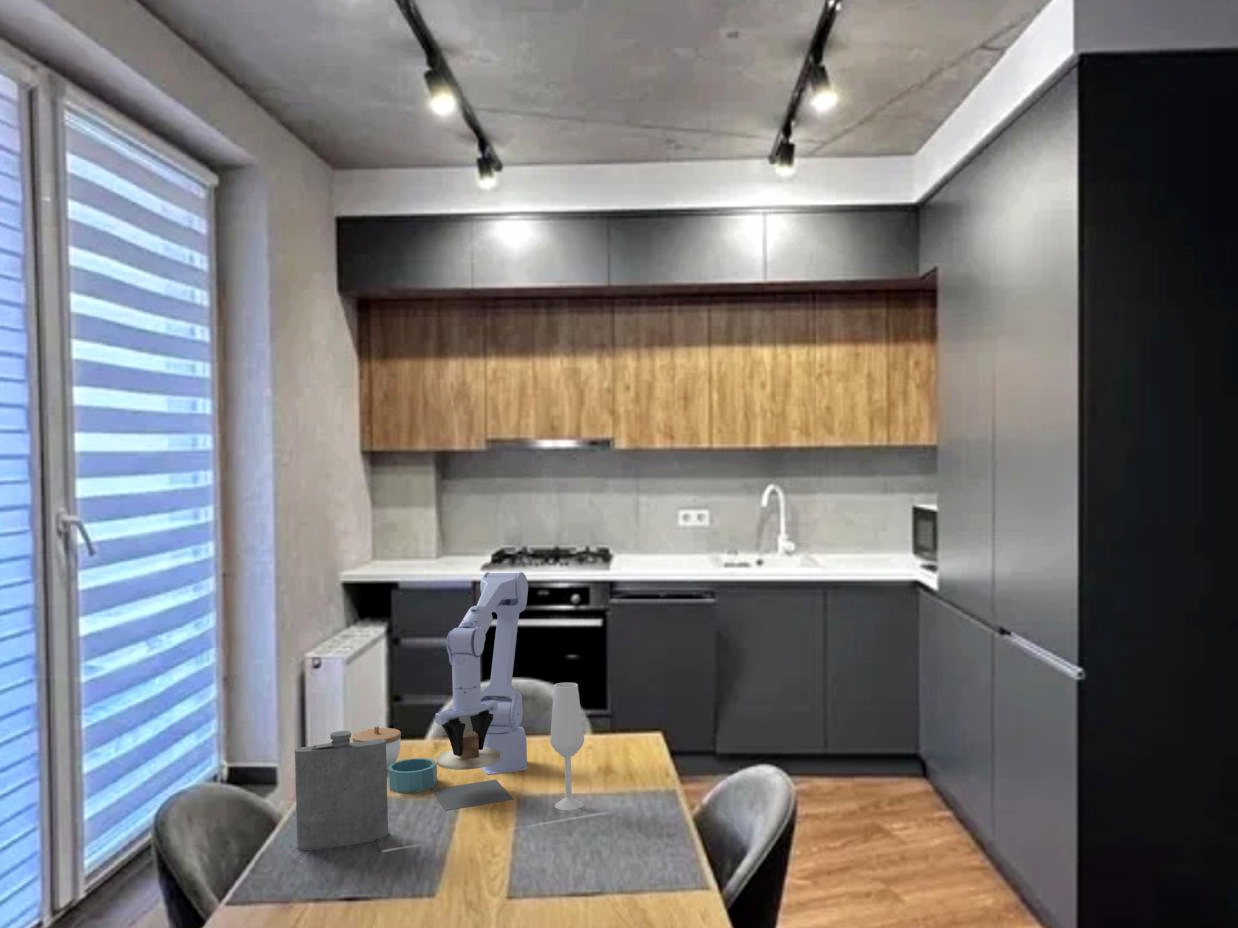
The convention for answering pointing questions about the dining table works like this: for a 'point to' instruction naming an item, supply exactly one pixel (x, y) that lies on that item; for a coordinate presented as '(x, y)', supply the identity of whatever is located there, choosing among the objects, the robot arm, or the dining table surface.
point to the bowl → (412, 775)
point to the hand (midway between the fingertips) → (468, 751)
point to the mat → (471, 794)
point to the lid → (469, 755)
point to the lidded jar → (386, 734)
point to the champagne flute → (567, 734)
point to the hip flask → (341, 792)
